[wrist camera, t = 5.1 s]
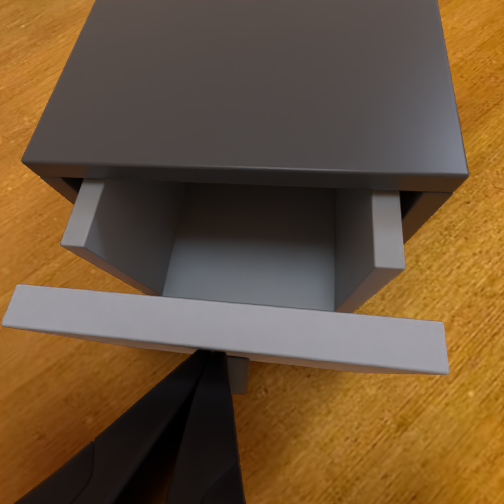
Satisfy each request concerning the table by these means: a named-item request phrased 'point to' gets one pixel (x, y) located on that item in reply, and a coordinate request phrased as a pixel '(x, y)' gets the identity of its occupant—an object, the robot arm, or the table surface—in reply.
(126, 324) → the drawer
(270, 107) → the cabinet
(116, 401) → the table surface
